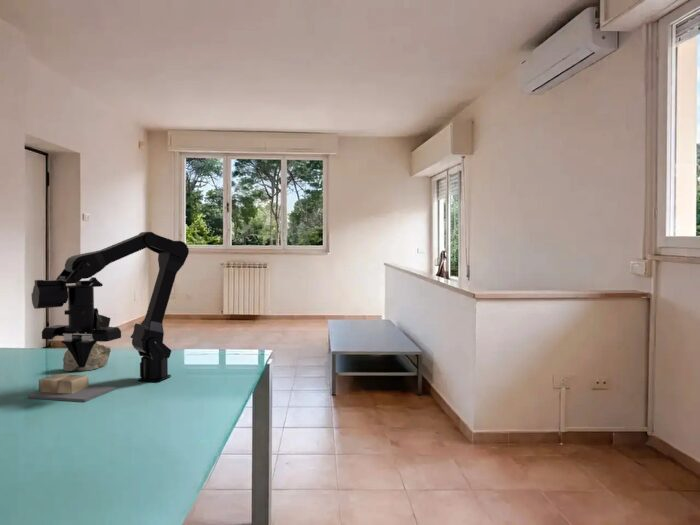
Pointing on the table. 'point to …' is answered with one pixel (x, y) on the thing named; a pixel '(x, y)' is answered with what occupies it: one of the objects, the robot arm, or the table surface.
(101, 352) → the rock
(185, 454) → the table surface
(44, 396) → the mat
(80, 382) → the wooden block
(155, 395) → the table surface
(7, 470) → the table surface
